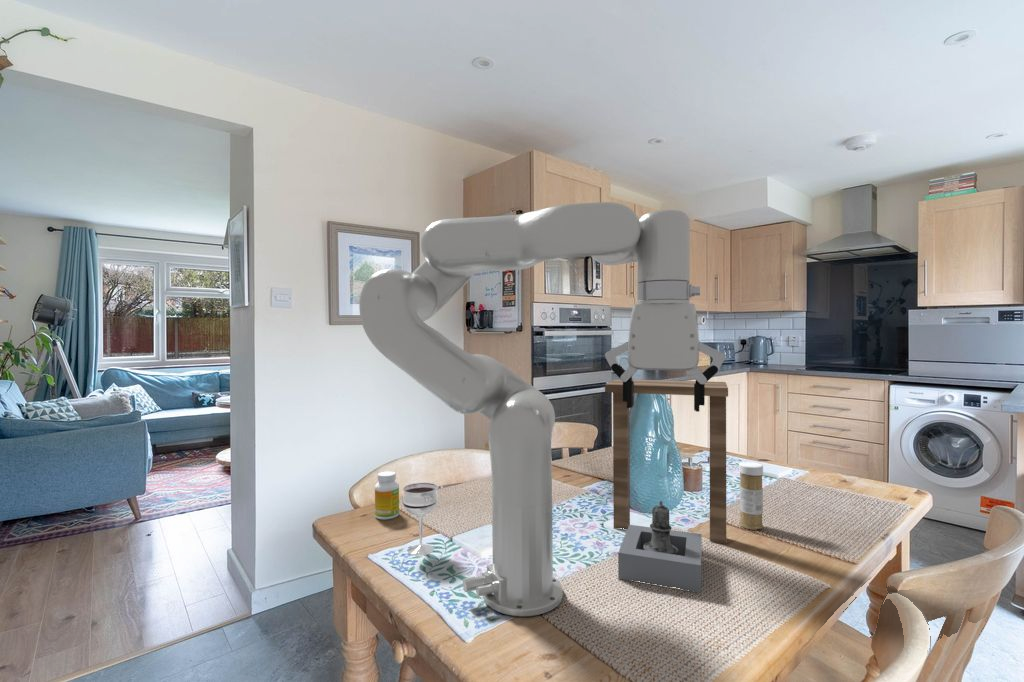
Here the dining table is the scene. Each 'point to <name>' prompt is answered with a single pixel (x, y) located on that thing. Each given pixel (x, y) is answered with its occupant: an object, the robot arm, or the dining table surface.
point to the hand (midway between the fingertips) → (662, 408)
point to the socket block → (661, 559)
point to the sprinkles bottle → (751, 495)
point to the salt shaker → (660, 532)
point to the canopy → (717, 447)
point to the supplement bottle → (386, 496)
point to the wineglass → (420, 509)
